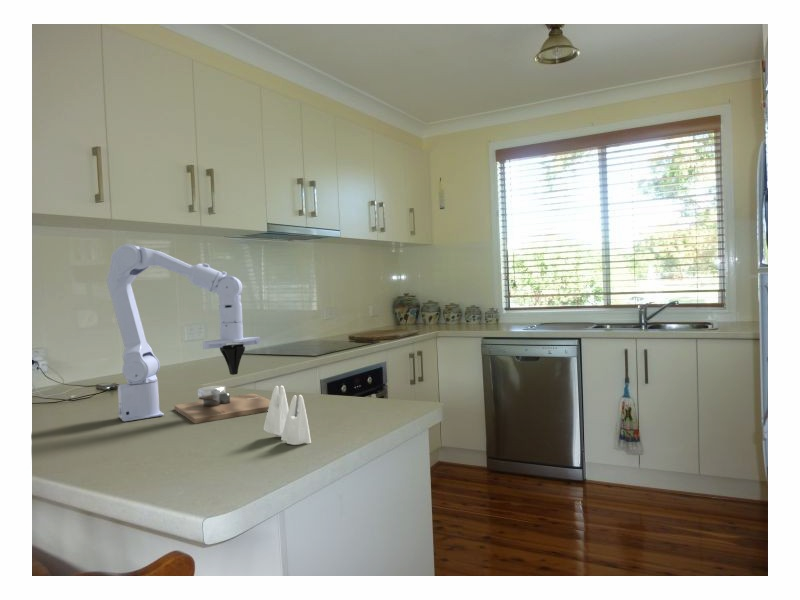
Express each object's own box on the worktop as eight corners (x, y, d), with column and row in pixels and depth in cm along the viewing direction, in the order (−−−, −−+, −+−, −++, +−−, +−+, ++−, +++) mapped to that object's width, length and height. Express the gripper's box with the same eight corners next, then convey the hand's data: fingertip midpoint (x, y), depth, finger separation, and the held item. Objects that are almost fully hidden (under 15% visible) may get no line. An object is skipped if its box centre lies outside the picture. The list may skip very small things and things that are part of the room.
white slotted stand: (262, 438, 118) (259, 385, 118) (279, 433, 121) (277, 382, 121) (295, 447, 110) (292, 391, 109) (312, 442, 113) (309, 387, 112)
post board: (195, 423, 134) (194, 411, 134) (174, 409, 153) (173, 398, 152) (282, 409, 146) (281, 397, 146) (253, 397, 165) (253, 387, 165)
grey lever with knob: (195, 397, 151) (194, 388, 151) (221, 393, 155) (221, 384, 155) (212, 406, 138) (211, 396, 138) (240, 401, 142) (239, 392, 141)
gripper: (207, 324, 140) (210, 379, 140) (263, 320, 148) (265, 372, 148) (199, 323, 146) (202, 376, 146) (253, 320, 154) (256, 369, 154)
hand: (233, 374), depth 147 cm, fingers closed
